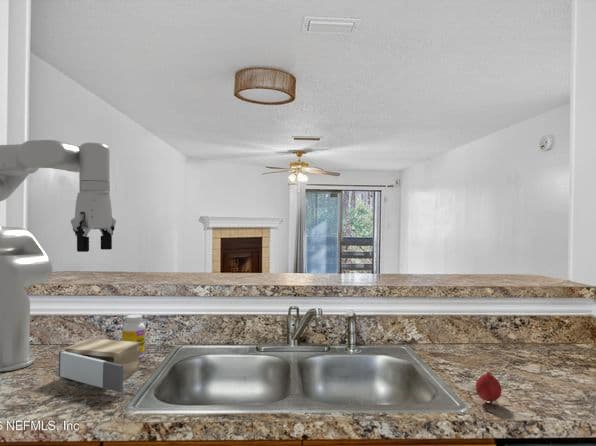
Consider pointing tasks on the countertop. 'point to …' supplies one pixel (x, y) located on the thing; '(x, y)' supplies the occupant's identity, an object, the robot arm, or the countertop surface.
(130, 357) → the cabinet
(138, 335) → the supplement bottle
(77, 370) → the door
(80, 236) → the robot arm
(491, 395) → the onion
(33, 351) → the countertop surface
